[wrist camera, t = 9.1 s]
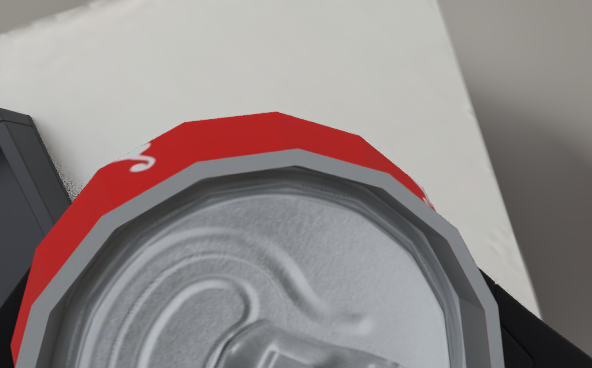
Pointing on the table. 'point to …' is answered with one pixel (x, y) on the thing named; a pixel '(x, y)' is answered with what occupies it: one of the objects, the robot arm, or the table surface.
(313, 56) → the table surface
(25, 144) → the dark grey tray
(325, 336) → the soda can
